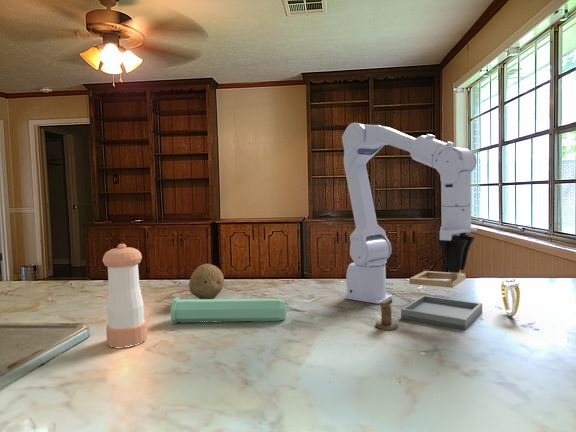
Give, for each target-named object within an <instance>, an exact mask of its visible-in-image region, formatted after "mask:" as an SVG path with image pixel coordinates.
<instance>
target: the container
mask: <svg viewBox="0 0 576 432" xmlns="http://www.w3.org/2000/svg"><path fill="white" fill-rule="evenodd" d="M287 307H288V306H287V305H286V300H284V299H283V298H214V299H199V298H196V299H193V298H192V299H191V298H190V299H181V298H180V297H179V296H177V297H175V298H173V299H172V302H171V306H170V321H171V323H172V324H173V323H177V322H180V323H207V322H206V321H252V322H281V321H280V320H282V321H285V319H286V316H287V312H288V309H287ZM200 321H201V322H200ZM202 321H203V322H202ZM204 321H205V322H204ZM177 324H178V323H177Z"/></svg>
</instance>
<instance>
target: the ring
mask: <svg viewBox="0 0 576 432" xmlns="http://www.w3.org/2000/svg"><path fill="white" fill-rule="evenodd" d="M500 289H501V297H502V302H503V306H504V310H505V312H506V315H507V317H514V316H516V315H517V313H518V309H519V306H520V297H521V296H520V295H521V294H520V293H521V292H520V283H519V282H517V281H516V279H515V278H513V279H510V278H506V279H505V281H501V285H500ZM509 292H510V294H511V301H512V306H511V308H510V305H509V303H510V302H509Z"/></svg>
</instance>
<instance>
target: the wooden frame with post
mask: <svg viewBox="0 0 576 432" xmlns="http://www.w3.org/2000/svg"><path fill="white" fill-rule="evenodd" d="M461 271H462V270H461V269H460V272H459V273H456V272H449V271H448V272H447V271H446V272H445V271H430V270H424V271H422V272H420V273H418V274H416V275H415V274H414V276H412V277H409V278H408V283H409V285H417V286H430V287H439V288H451V289H452V288H453V289H454V288H455V287H456V286H458V285H459V284H460V283H462V282H464V281H465V280H466V273H462V272H461Z"/></svg>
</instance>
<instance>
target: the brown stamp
mask: <svg viewBox="0 0 576 432" xmlns="http://www.w3.org/2000/svg"><path fill="white" fill-rule="evenodd" d="M392 303H393V299H392V298H389V299H386V300H384V301H382V302H380V303H379V307H380V308H381V309H380V310H381V311H380V312H381V313H380V314H381V320H378V321H376V322H375V328H377V329H379V330H382V331H383V330H384V331H392V330H394V331H395V330H397V329H398V327H399V325H398V323H397V322H396V321H394V320H393V321H392Z"/></svg>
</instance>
